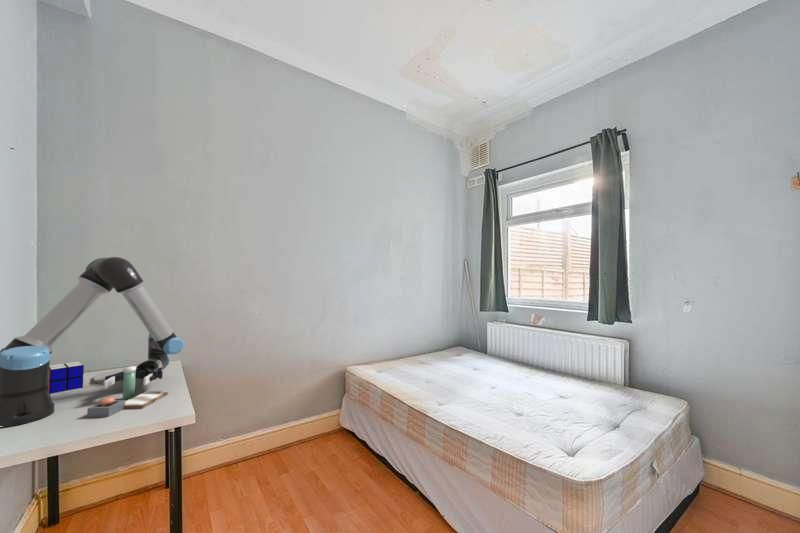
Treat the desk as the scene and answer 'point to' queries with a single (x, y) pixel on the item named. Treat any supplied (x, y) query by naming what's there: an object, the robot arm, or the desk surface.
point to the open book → (144, 399)
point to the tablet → (101, 376)
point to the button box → (105, 409)
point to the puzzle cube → (65, 377)
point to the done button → (107, 401)
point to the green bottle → (129, 382)
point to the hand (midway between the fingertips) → (124, 383)
